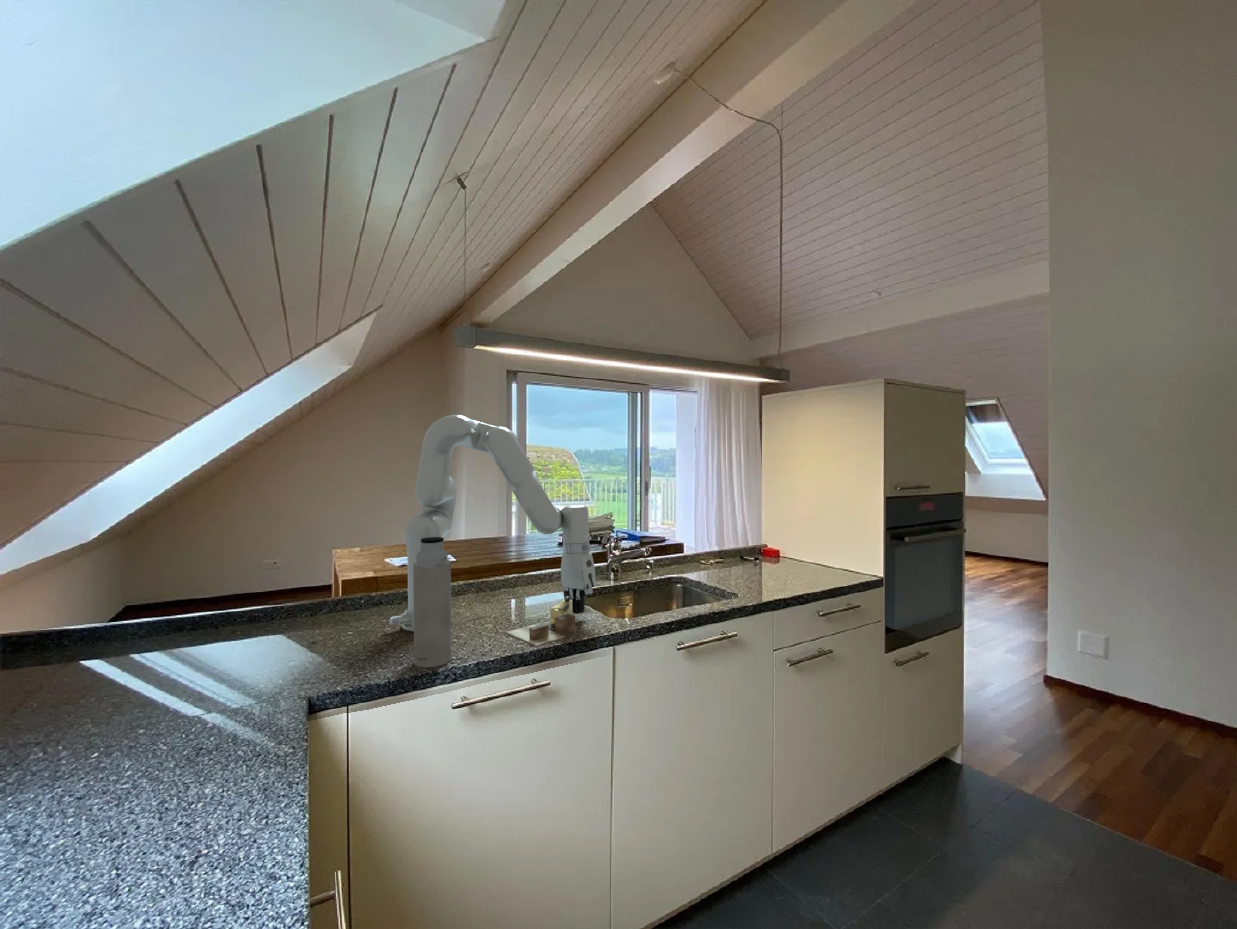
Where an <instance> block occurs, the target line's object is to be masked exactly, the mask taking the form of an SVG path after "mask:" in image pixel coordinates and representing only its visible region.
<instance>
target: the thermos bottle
mask: <svg viewBox="0 0 1237 929" xmlns="http://www.w3.org/2000/svg"><path fill="white" fill-rule="evenodd" d="M444 539H445V538H443V537H428V538H422V539H421V551H420V552H418V553H417V557H416V559H417V562H416V563H414V565H413V578H414V631H413V664H414V665H415V666H416V667H418V668H426V669H427V668H428V669H429V668H436V667H439V666H443V665H446V664H447V663H450V661H452V586H451V585H452V579H451V578H452V577H451V576H452V575H451V574H452V572H451V571H452V568H451V566H452V565H451V564H452V563H451V560H449V559H448V556H449V554H448V551H447V550H445V549H444V543H443V542H444V541H445V540H444Z"/></svg>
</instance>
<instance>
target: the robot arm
mask: <svg viewBox="0 0 1237 929" xmlns="http://www.w3.org/2000/svg"><path fill="white" fill-rule="evenodd" d="M455 447H463V448H468V449H472V450H475V451H477V452H482V453H486V454H489V455H490V457H491V459H492V460H493V461H494V463H495V465H496V466H497V469H499V471H500V472H501V474H502V476H503V477H504V480H505V481H506V482H507V485H509V488H510V490H511V492H512V493H513V495H514V496H515V498H516V500H517V501H518V504H519V505H520V507H521V508H522V510H523V512H524V513H525V515H526V516H527V518H528V520H529V521H530V523H531V524H532V526H533V527H534V528H535V530H536V531H537V532H539V533H540V534H543V535H552V534H554V533H556V532H557V531H558V530H561V531H562V550H563V552H562V555H561V563H560V583H561V585H562V590H563V589H564V590H566V591H568V592H569V594H570V598H571V599H572V610H573V613H574V614H575V615H579V614H581V613H584V612H585V601H584V598H585V599H586V598H587V597H586V596H587V595H591V594H593V593H594V591H593V588H595V587H596V586H597V585H596V583H597V581H596V580H597V579H596V569H595V568H596V567H595V563H594V557H593V554H592V552H590V551H591V549H592V546H591V545H590V524H589V522H590V521H589V510H588V507H587V506H586V505H584V504H568V505H554V504H553V503H552V501H551V500H550V498H549V496H548V495H547V493H546V492H545V490H544V488H543V486H542V484H541V482H540V479H539V477H538V476H539V475H538V472H537V470H536V468H535V466H534V465H533V464H532V462H531V460H530V459H529V457H528V456H527V454H526V453H525V451H524V450H523V448H522V446H521V445H520V443H519V442H518V437H517V435H516V434H515V433H514V432H513V431H512V430H511V429H509V428H507V427H506V426H505V427H504V426H495V425H491V424H488V423H484V422H480V421H478V420H474V419H471V418H469V417H467V416H465V415H463V414H462V415H461V414H450V415H447V416H444V417H440V418H439V419H437V420H436V421H434V422H433V423H432V424H431V425H430V426H429V427H428V429H427V430H426V432H425V434H424V437H423V440H422V445H421V451H420V459H419V463H418V469H417V475H416V482H415V486H414V487H415V488H414V497H415V499H416V501H417V502H418V503H419V505H421V507H420V508H421V509H420V512H418V513H416V514H414V515H413V516H411V518H409V520H408V522H407V523H406V526H405V527H404V528H405V529H404V539H405V547H406V557H407V609H405V610H404V613H401V614H400V615H395V616H391V617H389V625H394V624H398V625H401V626H402V627H401V628H402V629H403V630H404V631H406V632H407V631H409V632H414V578H413V565H414V563H416V562H417V559H416V557H417V553H418V552H420V551H421V539H422V538H428V537H443V538H444V539H445V538H446V537H447V536H448V535H449V533H450V531H451V529H452V525H453V519H454V512H455V505H456V499H457V485H456V482H455V480H454V479H453V478H452V477H451V469H452V464H453V451H454V449H455Z"/></svg>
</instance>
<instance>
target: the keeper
mask: <svg viewBox="0 0 1237 929" xmlns="http://www.w3.org/2000/svg"><path fill="white" fill-rule="evenodd" d="M529 635H530V640H533V641H535V640H538V639H542V638H545V637H549V624H546V623H542V624H537V626H534V627H530V628H529Z"/></svg>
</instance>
